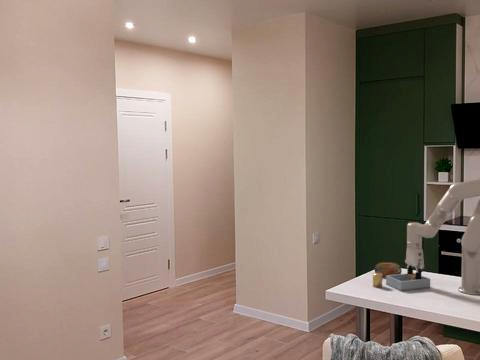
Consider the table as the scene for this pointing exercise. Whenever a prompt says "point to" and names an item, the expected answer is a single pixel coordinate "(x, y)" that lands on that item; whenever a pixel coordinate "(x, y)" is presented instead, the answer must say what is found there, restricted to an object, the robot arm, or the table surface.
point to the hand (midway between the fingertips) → (414, 277)
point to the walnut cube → (411, 277)
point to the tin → (388, 269)
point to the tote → (407, 282)
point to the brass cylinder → (377, 280)
